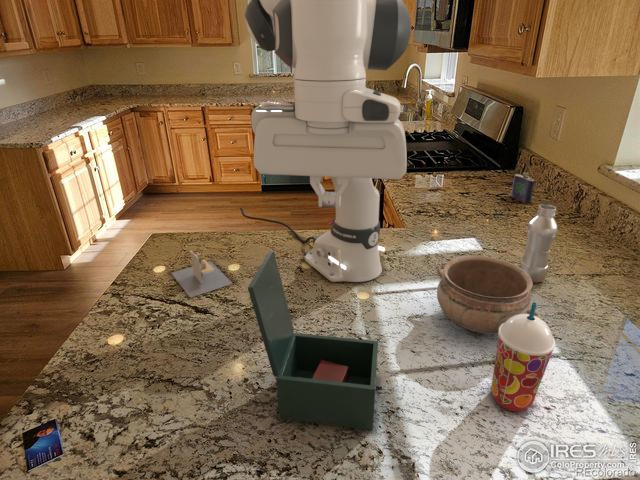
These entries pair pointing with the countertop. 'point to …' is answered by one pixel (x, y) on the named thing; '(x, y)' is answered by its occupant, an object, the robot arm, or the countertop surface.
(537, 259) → the plastic bottle
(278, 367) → the bin lid
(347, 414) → the bin
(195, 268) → the architectural model
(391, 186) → the countertop surface
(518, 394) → the smoothie
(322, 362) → the block
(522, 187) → the flask
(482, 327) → the cooking pot
